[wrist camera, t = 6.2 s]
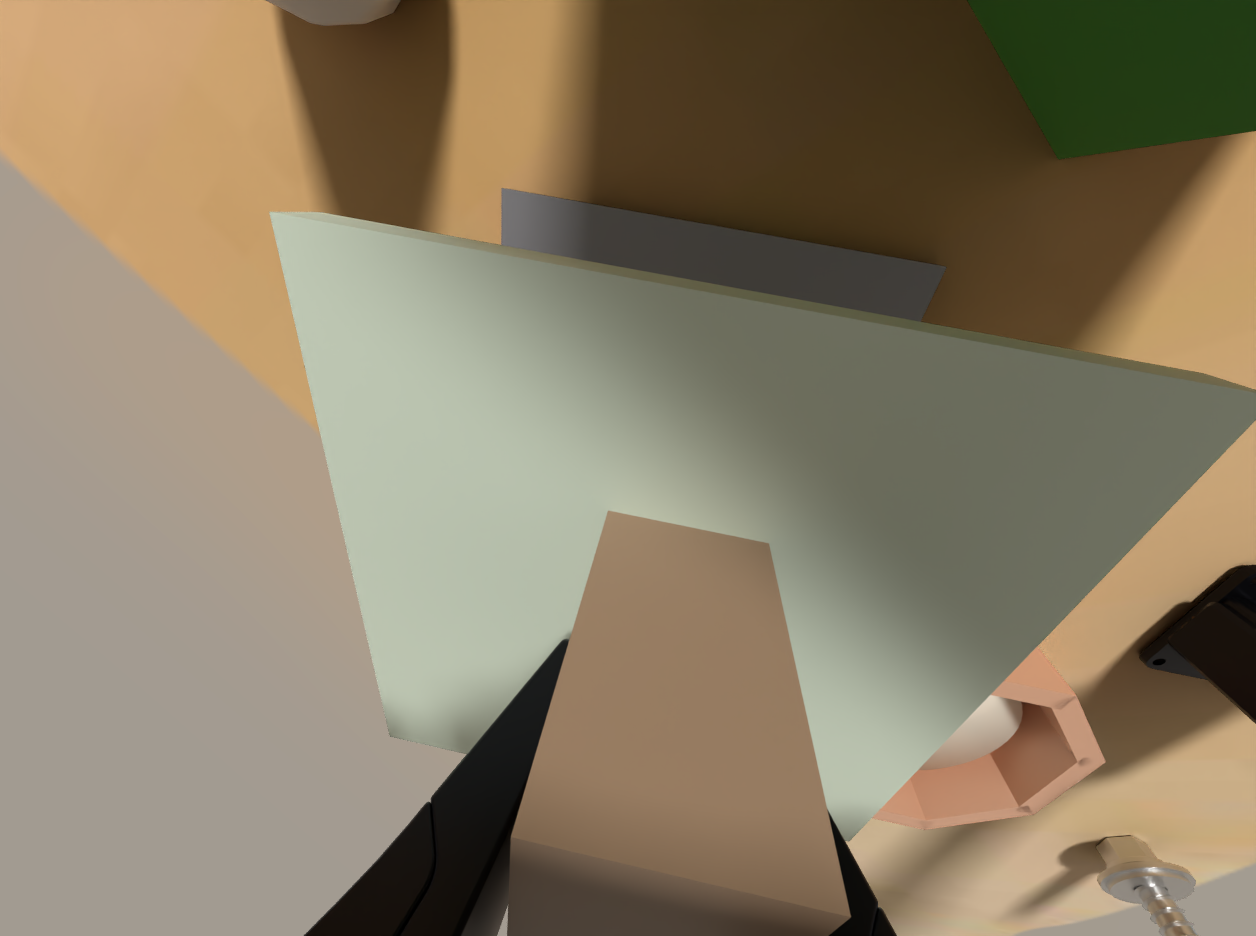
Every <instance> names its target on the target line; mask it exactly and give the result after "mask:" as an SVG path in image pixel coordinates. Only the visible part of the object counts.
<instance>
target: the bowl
mask: <svg viewBox="0 0 1256 936" xmlns="http://www.w3.org/2000/svg"><path fill="white" fill-rule="evenodd" d="M1105 762H1106V761H1105V759H1104V757H1103V755H1102V752H1101V750H1100V748H1099V746H1098V743H1097V741H1096V739H1095V737H1094V734H1093V732H1092V730H1091V727H1090V725H1089V723H1088V721H1087V718H1086V716H1085V714H1084V712H1083V709H1082V707H1081V705H1080V702H1079V700H1078V698H1077V696H1076V694H1075V693H1074V692H1073V691H1072V689H1071V688H1070V687H1069V686H1068V684H1067V683H1066V682H1065V681H1064V679H1063V678H1062V677H1061V675H1060V674H1059V673H1058V672H1057V670H1056V669H1055V668H1054V667H1053V665H1052V664H1051V663H1050V662H1049V660H1048V659H1047V658H1046V656H1045V655H1044V654H1043V653H1042V651H1041V650H1040V649H1039V648H1038V646H1037V647H1036V648H1035V649H1034V650H1033V651H1032V652H1031V653H1030V654H1029V655H1028V657H1027V658H1026V659H1025V660H1024V661H1023V662H1022V663H1021V664H1020V665H1019V666H1018V667H1017V668H1016V669H1015V670H1014V671H1013V672H1012V673H1011V674H1010V675H1009V676H1008V677H1007V678H1006V679H1005V680H1004V681H1003V682H1002V683H1001V685H1000V686H999V687H998V688H997V689H996V690H995V691H994V692H993V693H992V694H991V695H990V696H989V697H988V698H987V699H986V700H985V701H984V702H983V703H982V704H981V705H980V706H979V707H978V708H977V709H976V710H975V711H974V712H973V714H972V715H971V716H970V717H969V718H968V719H967V720H966V721H965V722H964V723H963V724H962V725H961V726H960V727H959V728H958V729H957V730H956V731H955V732H954V733H953V734H952V735H951V736H950V737H949V738H948V739H947V740H946V742H945V743H944V744H943V745H942V746H941V747H940V748H939V749H938V750H937V751H936V752H935V753H934V754H933V755H932V756H931V757H930V758H929V759H928V760H927V761H926V762H925V763H924V764H923V765H922V766H921V767H920V768H919V770H918V771H917V772H916V773H915V774H914V775H913V776H912V777H911V778H910V779H909V780H908V781H907V782H906V783H905V784H904V785H903V786H902V787H901V788H900V789H899V790H898V791H897V792H896V793H895V794H894V795H893V796H892V797H891V799H890V800H889V801H888V802H887V803H886V804H885V805H884V806H883V807H882V808H881V809H880V810H879V811H878V812H877V813H876V814H875V815H874V816H873V817H872V818H874V819H878V820H883V821H887V822H892V823H896V824H901V825H905V826H910V827H914V828H919V829H923V830H927V829H934V828H941V827H948V826H956V825H963V824H970V823H977V822H984V821H992V820H999V819H1006V818H1013V817H1020V816H1028V815H1034V814H1035V813H1037V812H1038V811H1039V810H1041V809H1042V808H1043V807H1045V806H1046V805H1048V804H1049V803H1050V802H1052V801H1053V800H1054V799H1056V798H1057V797H1059V796H1060V795H1061V794H1063V793H1064V792H1065V791H1067V790H1068V789H1070V788H1071V787H1072V786H1074V785H1075V784H1076V783H1078V782H1079V781H1081V780H1082V779H1083V778H1085V777H1086V776H1087V775H1089V774H1090V773H1092V772H1093V771H1094V770H1096V769H1097V768H1098V767H1100V766H1101V765H1103V764H1104V763H1105Z"/></svg>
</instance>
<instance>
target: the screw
mask: <svg viewBox="0 0 1256 936" xmlns="http://www.w3.org/2000/svg"><path fill="white" fill-rule="evenodd" d="M1096 849H1097V850H1098V852H1099V853H1100V855H1101V856H1102V858H1103V860H1104V861H1105V863H1106V864H1107V866H1106V869H1105V870H1104V871H1102V872H1101V873H1100V874H1099V875H1098V876H1097V881H1098V883H1099V885H1100V886H1101V888H1102V889H1103V890H1104V891H1105V892H1106V893H1108V894H1110V895H1112V896H1113V897H1115V898H1117V899H1119V900H1122V901H1125V902H1130V903H1137V904H1142V907H1143V908H1144V909H1145V910H1147V911H1149V912H1150V913H1151V917H1150V919H1151V920H1152V922H1154V923H1155V924H1158V926H1159V927H1160V929H1159V933H1160V934H1161V935H1162V936H1198V934H1197V933H1196V932H1195V930H1194V929H1193V926H1194V924H1193V923H1191V922H1189V921H1188V920H1187V919H1186V917H1185V916H1184V914H1183V913H1184V912H1185V910H1183V909H1180V908H1179V907H1178V906H1177V904H1176V903H1175V901H1178V900H1181V899H1184V898H1186V897H1188V896H1189V895H1191V894H1192V893H1193V892H1194V886H1195V884H1196V880H1195V879H1194V878H1193V876H1192V875H1191V873H1190V872H1189V871H1188V870H1187V869H1185V868H1183V867H1181V866H1178V865H1175V864H1171V863H1165V862H1163V861H1162V860H1159V859H1157V857H1156V856H1155V855H1154V853H1153V852H1152V850H1151V849H1150V848H1149V846H1148V845H1147V844H1146V843H1144V842H1142V841H1140V840H1138V839H1136V838H1135V837H1133V836H1122V837H1108V838H1106V839H1104V840H1103V841H1102V842H1101V843H1100V844H1098V845H1097V846H1096Z"/></svg>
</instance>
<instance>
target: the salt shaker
mask: <svg viewBox="0 0 1256 936" xmlns="http://www.w3.org/2000/svg"><path fill="white" fill-rule="evenodd" d="M266 1H268V2H270V3H272V4H274V5H276V6H278V7H280V8H282V9H284V10H286V11H288V12H290V13H292V14H294V15H295V16H297V17H299V18H301V19H303V20H305V21H307V22H309V23H313V24H318V25H322V26H332V25H351V24H366V23H369V22H371V21H374V20H376V19H379V18H381V17H384V16H387V15H389V14H392V13H394V11H395V9H396V8H397V6H398V4H399V3H400V1H401V0H266Z"/></svg>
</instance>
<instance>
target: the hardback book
mask: <svg viewBox="0 0 1256 936" xmlns="http://www.w3.org/2000/svg"><path fill="white" fill-rule="evenodd" d="M967 1H968V3H969V5H970V6H971V8H972V10H973V12H974V13H975V15H976V17H977V19H978V20H979V22H980V24H981V26H982V27H983V29H984V31H985V33H986V34H987V36H988V38H989V39H990V41H991V43H992V45H993V46H994V48H995V50H996V52H997V53H998V55H999V57H1000V59H1001V60H1002V62H1003V64H1004V66H1005V67H1006V69H1007V71H1008V73H1009V74H1010V76H1011V78H1012V80H1013V81H1014V83H1015V85H1016V87H1017V88H1018V90H1019V92H1020V93H1021V95H1022V97H1023V99H1024V100H1025V102H1026V104H1027V106H1028V107H1029V109H1030V111H1031V113H1032V114H1033V116H1034V118H1035V120H1036V121H1037V123H1038V125H1039V127H1040V128H1041V130H1042V132H1043V134H1044V135H1045V137H1046V139H1047V141H1048V142H1049V144H1050V146H1051V148H1052V149H1053V151H1054V153H1055V154H1056V156H1057V158H1058V159H1065V158H1072V157H1079V156H1086V155H1093V154H1100V153H1107V152H1114V151H1120V150H1127V149H1134V148H1141V147H1148V146H1155V145H1162V144H1169V143H1176V142H1182V141H1189V140H1196V139H1203V138H1210V137H1217V136H1224V135H1231V134H1238V133H1244V132H1251V131H1256V0H967Z"/></svg>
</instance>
